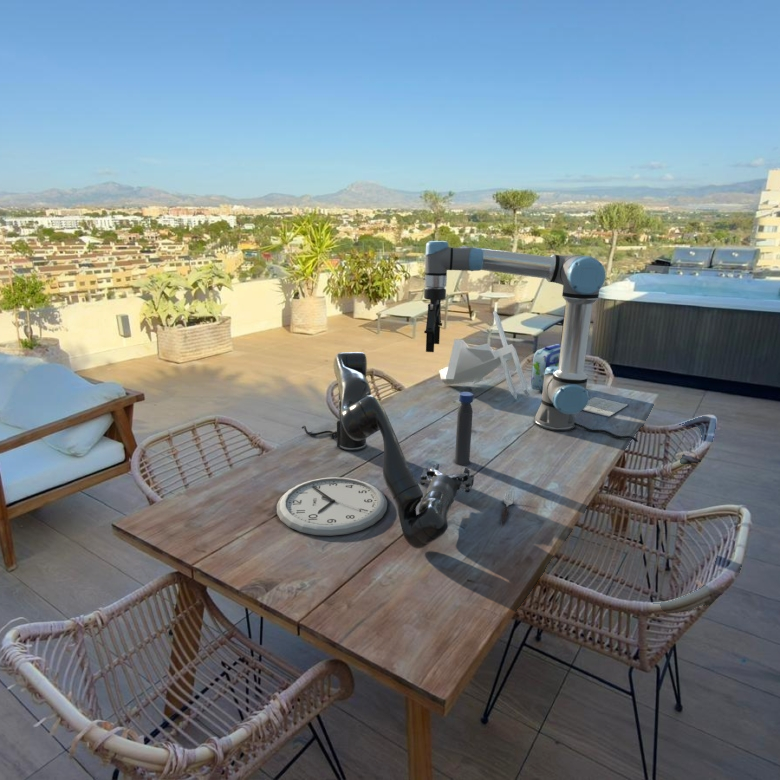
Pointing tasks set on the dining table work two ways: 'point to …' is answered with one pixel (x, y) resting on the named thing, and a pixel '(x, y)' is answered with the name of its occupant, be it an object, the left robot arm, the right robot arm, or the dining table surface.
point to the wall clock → (331, 506)
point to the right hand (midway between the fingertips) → (432, 347)
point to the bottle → (463, 434)
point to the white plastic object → (482, 362)
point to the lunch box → (544, 364)
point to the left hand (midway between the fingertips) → (451, 468)
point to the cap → (466, 397)
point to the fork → (507, 502)
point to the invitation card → (603, 406)
